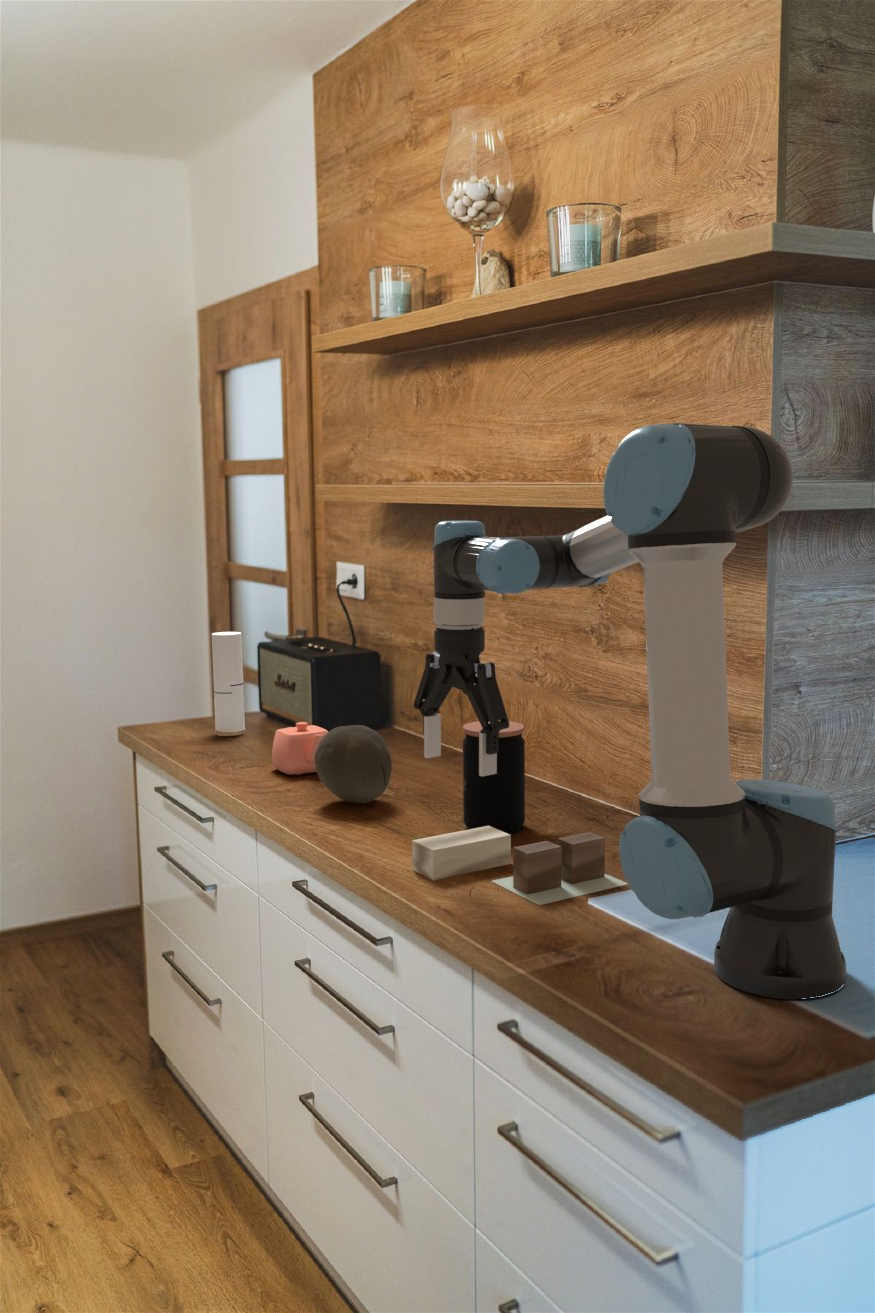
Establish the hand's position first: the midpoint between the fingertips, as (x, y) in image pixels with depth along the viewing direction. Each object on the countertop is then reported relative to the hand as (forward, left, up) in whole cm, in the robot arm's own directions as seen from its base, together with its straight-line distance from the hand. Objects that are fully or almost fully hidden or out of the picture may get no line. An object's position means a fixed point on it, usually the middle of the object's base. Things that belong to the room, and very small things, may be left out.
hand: (459, 765), depth 173 cm
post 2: (-14, -12, -16) cm, 24 cm away
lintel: (0, 0, -17) cm, 17 cm away
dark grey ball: (+46, -5, -17) cm, 49 cm away
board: (-14, -8, -17) cm, 24 cm away
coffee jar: (+18, -18, -17) cm, 31 cm away
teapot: (+75, -8, -17) cm, 77 cm away
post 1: (-14, -4, -16) cm, 22 cm away
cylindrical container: (+121, -9, -17) cm, 123 cm away
